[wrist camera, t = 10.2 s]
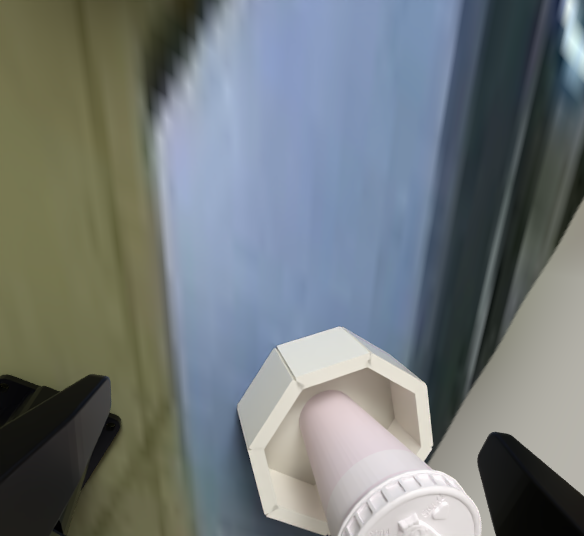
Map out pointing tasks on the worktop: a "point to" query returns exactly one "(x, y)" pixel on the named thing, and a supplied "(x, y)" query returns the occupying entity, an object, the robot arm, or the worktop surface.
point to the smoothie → (377, 477)
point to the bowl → (299, 390)
